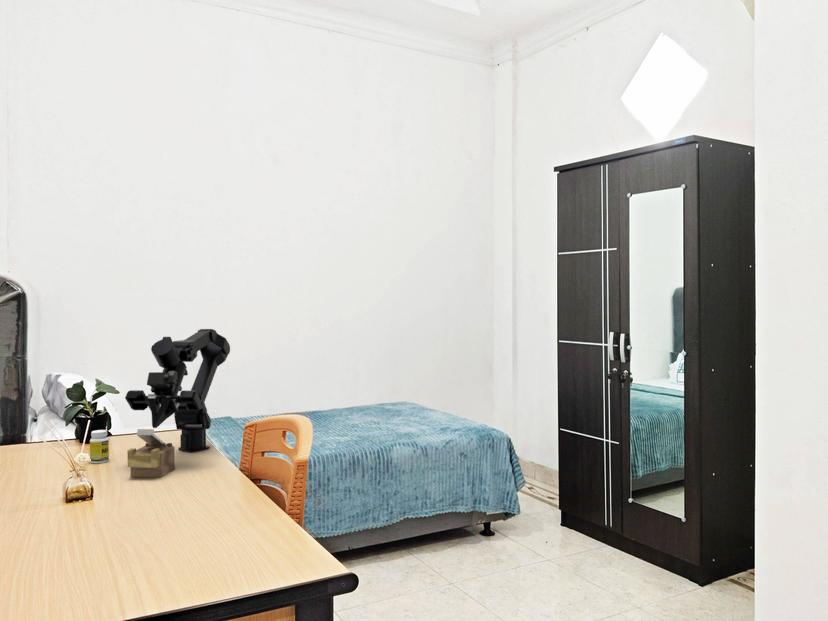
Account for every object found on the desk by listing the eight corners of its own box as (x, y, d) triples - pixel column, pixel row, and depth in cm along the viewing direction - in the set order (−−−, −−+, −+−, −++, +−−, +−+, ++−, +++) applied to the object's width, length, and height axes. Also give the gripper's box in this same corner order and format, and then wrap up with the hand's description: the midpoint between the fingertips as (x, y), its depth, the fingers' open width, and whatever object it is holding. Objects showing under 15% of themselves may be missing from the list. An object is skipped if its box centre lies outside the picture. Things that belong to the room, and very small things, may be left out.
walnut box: (145, 468, 180) (144, 441, 180) (174, 468, 179) (174, 441, 179) (126, 479, 170) (125, 450, 169) (157, 479, 169) (157, 450, 169)
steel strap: (151, 446, 179) (152, 440, 180) (166, 446, 179) (167, 441, 180) (136, 434, 171) (137, 429, 172) (152, 435, 171) (153, 429, 171)
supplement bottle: (103, 463, 185) (103, 432, 185) (86, 463, 185) (86, 433, 185) (112, 459, 190) (111, 429, 190) (95, 459, 190) (94, 429, 190)
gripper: (127, 360, 182) (107, 408, 171) (196, 360, 181) (180, 409, 170) (142, 385, 190) (123, 433, 179) (207, 385, 189) (192, 434, 178)
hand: (154, 427), depth 176 cm, fingers closed
